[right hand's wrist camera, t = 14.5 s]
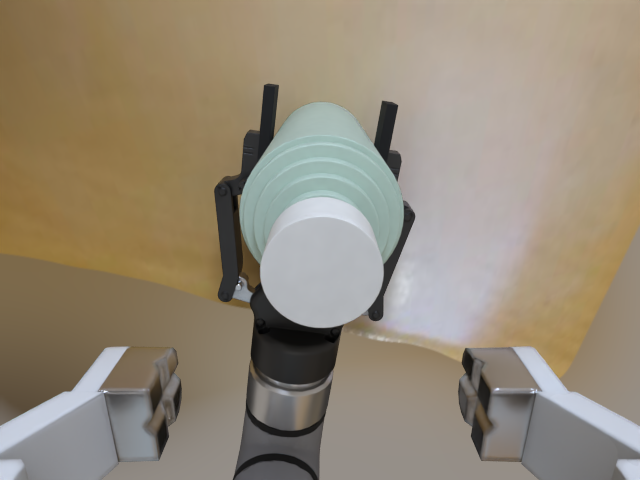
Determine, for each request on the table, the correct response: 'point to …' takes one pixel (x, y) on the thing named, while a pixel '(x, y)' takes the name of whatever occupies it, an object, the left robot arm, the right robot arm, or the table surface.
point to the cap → (321, 263)
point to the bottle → (321, 176)
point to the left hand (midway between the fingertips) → (331, 94)
